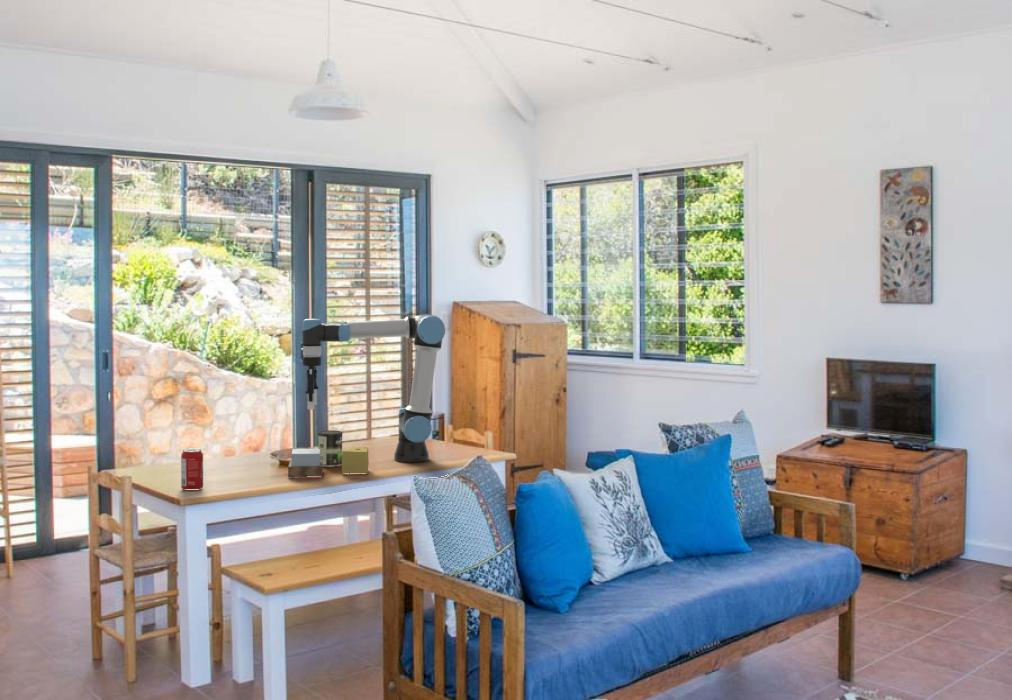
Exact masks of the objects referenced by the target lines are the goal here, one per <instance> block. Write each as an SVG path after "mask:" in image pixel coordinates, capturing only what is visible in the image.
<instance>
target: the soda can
mask: <svg viewBox="0 0 1012 700" xmlns="http://www.w3.org/2000/svg"><path fill="white" fill-rule="evenodd" d="M180 472H181V473H180V480H181V481H180V483H181V484H180V485H181V486H180V487H181V489H182V490H184V489H200V488H201V489H203V488H204V453H203V452H202V448H201V449H200V448H186V449H183V451H182V453H181V454H180ZM201 489H200V490H201Z"/></svg>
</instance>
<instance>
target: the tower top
mask: <svg viewBox="0 0 1012 700" xmlns="http://www.w3.org/2000/svg"><path fill="white" fill-rule="evenodd" d="M291 460H292V462H291V466H320V449H318V448H292V451H291Z"/></svg>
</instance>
